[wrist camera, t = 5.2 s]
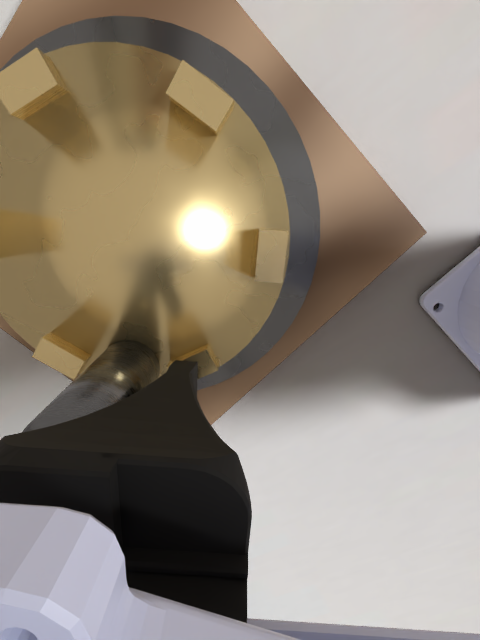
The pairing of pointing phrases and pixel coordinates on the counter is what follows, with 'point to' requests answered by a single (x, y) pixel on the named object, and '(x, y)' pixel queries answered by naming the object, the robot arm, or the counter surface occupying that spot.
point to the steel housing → (269, 124)
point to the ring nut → (132, 220)
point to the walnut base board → (321, 146)
